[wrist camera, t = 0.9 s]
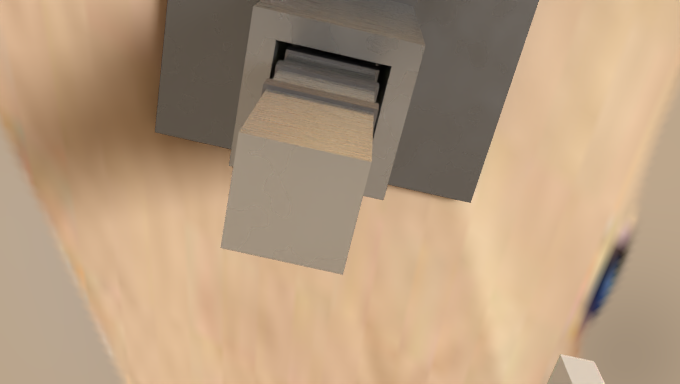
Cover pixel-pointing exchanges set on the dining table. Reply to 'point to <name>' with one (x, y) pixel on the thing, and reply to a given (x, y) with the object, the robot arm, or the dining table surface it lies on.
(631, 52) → the dining table surface
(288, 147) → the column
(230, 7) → the stand
